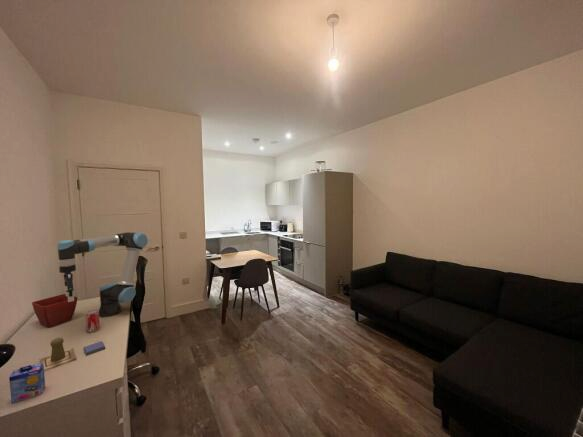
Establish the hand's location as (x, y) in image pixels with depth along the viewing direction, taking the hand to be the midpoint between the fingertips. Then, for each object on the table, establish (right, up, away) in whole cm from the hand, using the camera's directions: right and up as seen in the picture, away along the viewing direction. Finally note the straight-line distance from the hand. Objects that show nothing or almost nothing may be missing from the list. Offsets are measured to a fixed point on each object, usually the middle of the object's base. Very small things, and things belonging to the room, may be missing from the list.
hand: (69, 298), depth 154 cm
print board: (+11, -28, -19) cm, 35 cm away
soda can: (+5, -26, +13) cm, 29 cm away
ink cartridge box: (+21, -30, -43) cm, 56 cm away
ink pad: (+23, -27, -9) cm, 37 cm away
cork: (+11, -27, -19) cm, 35 cm away
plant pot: (-32, -26, +25) cm, 48 cm away
